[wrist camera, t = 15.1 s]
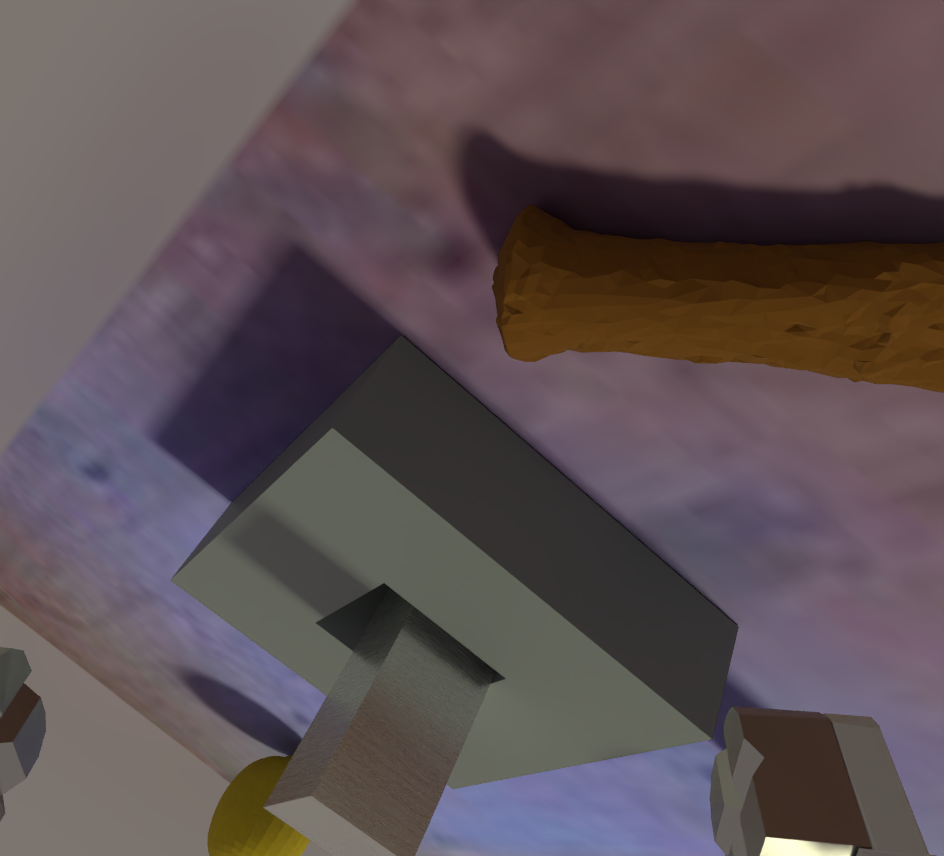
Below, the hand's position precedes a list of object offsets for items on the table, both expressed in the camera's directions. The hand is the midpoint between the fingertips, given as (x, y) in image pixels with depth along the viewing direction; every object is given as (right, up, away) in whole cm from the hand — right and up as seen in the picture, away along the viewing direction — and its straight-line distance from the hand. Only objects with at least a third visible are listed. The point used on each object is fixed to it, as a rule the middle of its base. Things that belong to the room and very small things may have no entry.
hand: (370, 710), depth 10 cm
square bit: (+1, -2, +21) cm, 22 cm away
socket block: (+1, -1, +21) cm, 21 cm away
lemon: (-9, -16, +42) cm, 46 cm away
